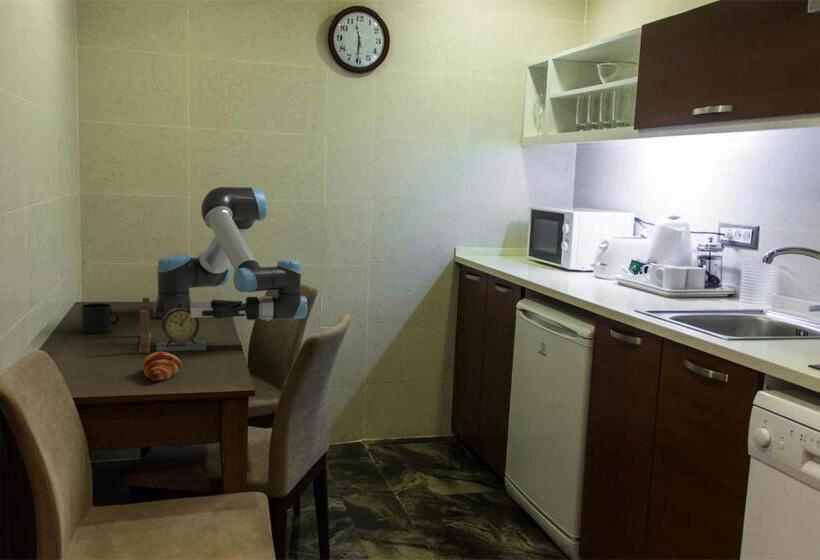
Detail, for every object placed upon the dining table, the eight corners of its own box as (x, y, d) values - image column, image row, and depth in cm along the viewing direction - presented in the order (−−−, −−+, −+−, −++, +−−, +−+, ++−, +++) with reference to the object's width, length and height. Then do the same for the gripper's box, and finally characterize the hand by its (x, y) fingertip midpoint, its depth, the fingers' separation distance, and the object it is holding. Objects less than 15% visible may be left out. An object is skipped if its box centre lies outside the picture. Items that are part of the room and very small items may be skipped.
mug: (117, 334, 254) (116, 307, 253) (78, 334, 252) (78, 307, 251) (121, 328, 264) (121, 303, 262) (84, 328, 261) (84, 303, 260)
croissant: (155, 376, 218) (141, 352, 216) (187, 360, 219) (173, 336, 217) (146, 396, 197) (130, 370, 196) (181, 378, 199) (166, 351, 197)
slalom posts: (141, 335, 253) (141, 297, 252) (151, 335, 254) (150, 297, 252) (138, 353, 229) (138, 311, 227) (149, 353, 230) (148, 311, 228)
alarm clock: (163, 347, 235) (163, 296, 232) (161, 343, 239) (161, 293, 237) (199, 345, 239) (199, 295, 237) (197, 342, 244) (197, 292, 242)
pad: (156, 345, 241) (156, 342, 241) (205, 343, 246) (205, 341, 246) (156, 351, 233) (156, 348, 233) (206, 349, 237) (206, 347, 237)
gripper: (262, 327, 233) (191, 328, 227) (255, 312, 256) (190, 313, 250) (262, 303, 232) (191, 304, 226) (255, 290, 255) (190, 291, 249)
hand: (190, 309), depth 238 cm, fingers open, 13 cm apart
